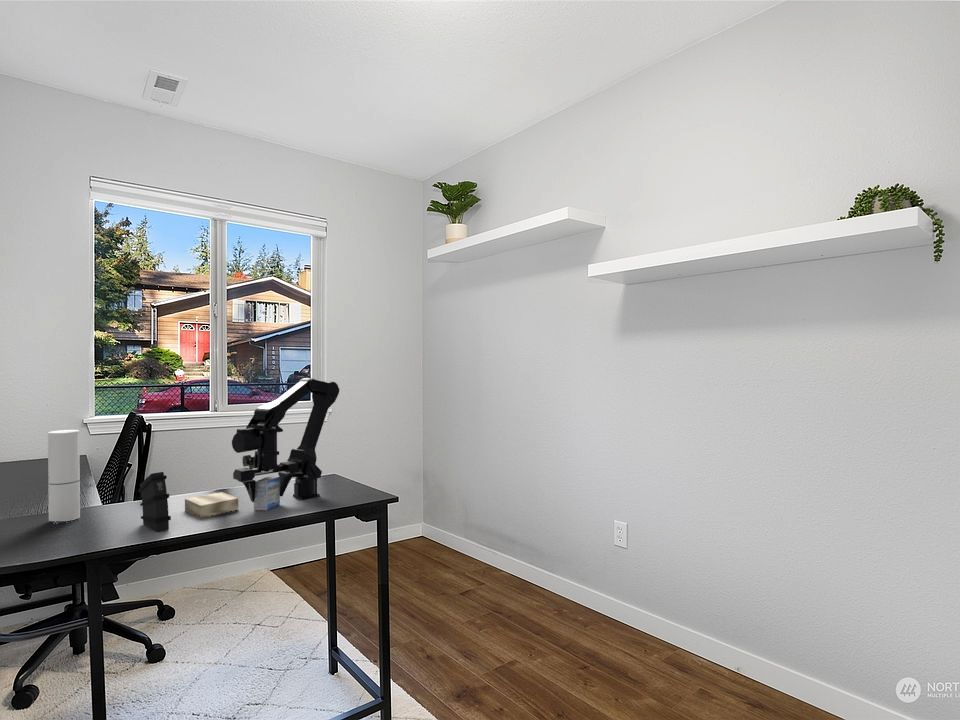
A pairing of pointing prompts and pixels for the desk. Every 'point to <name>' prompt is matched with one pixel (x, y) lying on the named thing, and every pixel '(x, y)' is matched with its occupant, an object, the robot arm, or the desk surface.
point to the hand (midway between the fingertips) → (267, 499)
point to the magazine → (155, 502)
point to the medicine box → (267, 493)
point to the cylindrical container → (64, 475)
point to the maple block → (211, 504)
